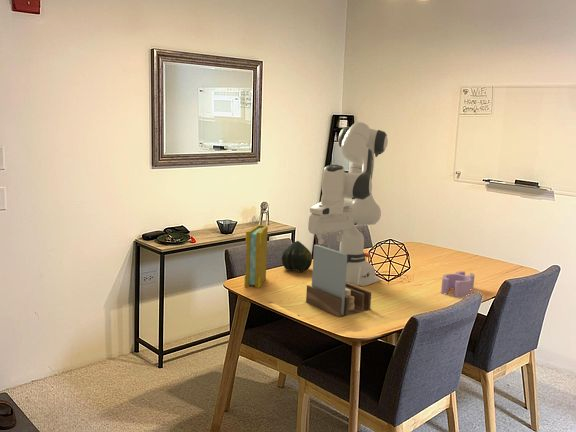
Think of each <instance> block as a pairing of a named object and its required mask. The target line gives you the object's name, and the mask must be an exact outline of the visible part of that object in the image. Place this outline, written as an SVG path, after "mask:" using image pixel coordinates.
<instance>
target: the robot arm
mask: <svg viewBox="0 0 576 432" xmlns="http://www.w3.org/2000/svg"><path fill="white" fill-rule="evenodd" d="M337 140H338V145H339V147H340V151H341V154H342V156H343V157H344V158H345V159H346V160H347V161H348V162H350V163H349V168H348V172H345V168H344V166H343V165H339V164H329V165H326V166H325V167H324V169H323V173H322V177H321V178H322V179H321V193H322V194H321V198H320V202H318V203H317V204H314V205H313V206H311V207H309V212H310V213H311V214H310V215H309V216H308V222H307V223H308V229H307V230H308V233H310V234H313V235H315V237H316V238H317V241H318V242H317V243H318V244H317V245H320V246H322V245H324V244H325V239H323V234H326V233H327V234H328V233H333V232H338V236H336V242H338V243H339V250H338V251H339V252H342V253H345V254H347V271H346V283H348V284H351V285H353V286H356V287H366V286H368V285H371V284H375V283H377V282H380V280H381V278H380V277H379V276H377V275H376V269H375V267H374V266H373V265H372V264H371V263H370V262H368V260H366V258H370V255H371V254H370V253H369V252H364V250H365V249H364V246H365V238H364V237H365V236H364V235H363V233H362V232H361V231H359V229H358V228H357V227H356V225H362V226H371V225H373V226H374V225H376V224H377V223H378V222H380V219H381V216H382V211H381V207H380V205H379V204H378V203H377V202H376V201H375V199H374V197H373V192H372V191H373V182H372V180H373V175H374V168H375V158H377V157H378V156H379V155H382V154H383V153H385V150H386V149H387V147H388V143H389V140H388V134H387V133H386V132H385V131H383V130H380V129H378V130H377V129H373V128H370V127H369V125H368V124H366V123H365V122H361V121H359V122H358V121H357V122H355V123H352V125H351V126H347V127H343V128H342V129H341V130H340V132H339V134H338V139H337ZM355 224H356V225H355Z"/></svg>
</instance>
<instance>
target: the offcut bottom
mask: <svg viewBox="0 0 576 432" xmlns="http://www.w3.org/2000/svg"><path fill="white" fill-rule="evenodd" d="M354 307H355V304H354V303H352V304H349V310H348V311H351V310H354Z"/></svg>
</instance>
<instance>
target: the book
mask: <svg viewBox="0 0 576 432" xmlns="http://www.w3.org/2000/svg"><path fill="white" fill-rule="evenodd" d="M268 229H269V227H268V225H264V224H257V225H254V226H253V227H252V228H250V229H248V230H246V231H245V243H246V250H245V251H246V254H245V275H244V287H245V288H246V287H247V288H249V287H250V286H251V285H252V286H254V288H260V287H261V286H262V284H263V283H264V281H265V280H266V279H267V255H268V254H267V253H268ZM262 282H263V283H262Z"/></svg>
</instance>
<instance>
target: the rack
mask: <svg viewBox="0 0 576 432" xmlns="http://www.w3.org/2000/svg"><path fill="white" fill-rule="evenodd" d="M345 288H347V289H350V290H351V296H353V297H355V298H354V304H355V307H354V310H351V311H348V310H349V297H347V296H345V303H344V315H341V307H342V299H341V298H339V297H336V296H334V295H331V294H329V293H326V292H324V291H322V290H319V289H317V288H314V287H312V285H310V284H307V285H306V297H305V301H304V303H305V304H308V305H310V306H312V307H314V308H316V309H319V310H321V311H323V312H325V313H327V314H330V315H332V316H334V317H336V318H339V319H340V318H342V317H347V316H352V315H355V314H359V313H364V312H367V311H371V310H373V309H372V308H371V306H372V305H371V304H372V291H369V290H366V289H364V288H360V286H357V285H354V284H351V283H349V282H346V287H345Z"/></svg>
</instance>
